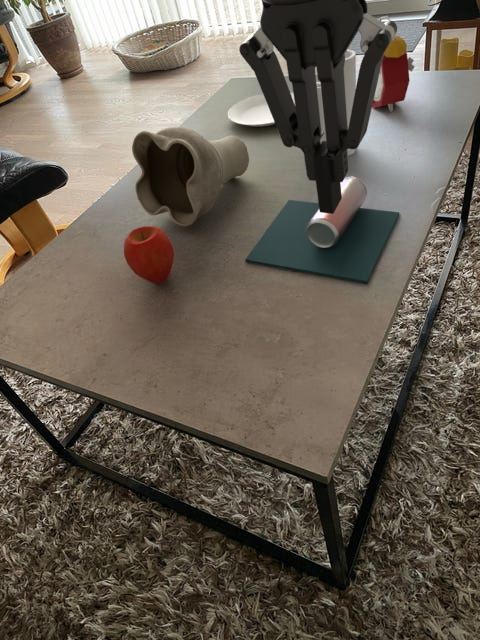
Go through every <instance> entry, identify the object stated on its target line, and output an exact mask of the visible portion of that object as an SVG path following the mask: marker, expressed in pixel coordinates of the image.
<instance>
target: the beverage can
mask: <svg viewBox="0 0 480 640" xmlns="http://www.w3.org/2000/svg"><path fill="white" fill-rule="evenodd" d="M341 195H342V199H341V201H340V203H339V204H338V206H337V208H336V210H335V212H334V214H329V213H320V211H319V209H318V211H317V212H316V214H315V215H314V216H313V218H312V219H311V220H310V222H309V223H308V225H307V235H308V238H309V239H310V241H311V242H312V243H313V244H314V245H316V246H318V247H321V248H329V247H332V246H334V245H336V244H337V242H338V241H339V239H340V238H341V236H342V235H343V233H344V232H345V230H346V229H347V227H348V226H349V224H350V222H351V221H352V219H353V218H354V216H355V215H356V213H357V212H358V210H359V209H360V208H362V206H363V204H365V201H366V198H367V195H368V188H367V186H366V184H365V183H364V181H362V180H361V179H360V178H358V177H356V176H346V177H345V178H344V180H343V182H341Z"/></svg>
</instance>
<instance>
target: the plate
mask: <svg viewBox="0 0 480 640" xmlns="http://www.w3.org/2000/svg"><path fill="white" fill-rule="evenodd" d="M290 93H291V96H292V99H293V101H294V94H293V92H291V91H290ZM294 103H295V101H294ZM227 117H228V119H229V120H230V122H233V123H235V124H238V125H242V126H243V125H244V126H249V127H256V128H257V127H259V128H261V127H268V126H273V125H276V124H275V122H274V119H273V117H272V114H271V112H270V110H269V107H268V105H267V102H266V100H265V97H264V95H263V93H259V94H255V95H252V96H249V97H246V98H244V99H241V100H240V101H238V102H236V103H234V104H233V105H232V106H231V107H230V108H229V110H228V111H227Z"/></svg>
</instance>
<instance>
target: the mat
mask: <svg viewBox="0 0 480 640" xmlns="http://www.w3.org/2000/svg"><path fill="white" fill-rule="evenodd" d="M318 209H319V203H318V202H312V201H303V200H294V199H288V200H287V201H286V203H285V204H284V205H283V207H282V208H281V210H280V211H279V213H278V214H277V215H276V216H275V218H274V219H273V221H272V222H271V224H270V225H268V227H267V228H266V230H265V232H264V233H263V235H262V236H261V237H260V239H259V240H258V241H257V242H256V244H255V245H254V247H253V248H252V250H251V251H250V252H249V254H248V255H247V256H246V258H245V259H244V261H245V263H249V264H254V265H260V266H266V267H270V268H271V267H272V268H277V269H283V270H287V271H293V272H299V273H305V274H311V275H315V276H321V277H326V278H333V279H336V280H337V279H338V280H344V281H348V282H355V283H360V284H365V285H366V284H367V285H368V283H369V281H370V279H371V277H372V274H373V272H374V270H375V268H376V266H377V264H378V261H379V260H380V257H381V255H382V253H383V251H384V249H385V247H386V245H387V242H388V240H389V238H390V236H391V235H392V234H391V233H392V232H393V230H394V227H395V225H396V223H397V221H398V219H399V217H400V211H391V210H383V209H373V208H366V207H360V209H359V210H358V212H357V213H356V215H355V216H354V218H353V219H352V221H351V222H350V224H349V226H348V227H347V229H346V230H345V232H344V233H343V235H342V236H341V238H340V239H339V241H338V242H337V244H336V245H334V246H332V247H329V248H321V247H318V246H316V245H314V244H313V243H312V242H311V241H310V239H309V238H308V235H307V225H308V223H309V222H310V220H311V219H312V218H313V216H314V215H315V214H316V212H317V211H318Z"/></svg>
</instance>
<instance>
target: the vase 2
mask: <svg viewBox="0 0 480 640" xmlns="http://www.w3.org/2000/svg"><path fill="white" fill-rule="evenodd" d="M356 55H357V53H356V51H355V50H352V49H347V51H346V52H345V64H344V82H345V97H346V112H347V127H348V128H349V122H350V117H351V112H352V106H353V101H354V96H355V90H356V85H357V64H356V63H357V62H356V60H357V59H356V58H357V56H356ZM316 84H317V94H318V104H319V114H320V124H321V131H322V132H323V131H324V134H323V136H322V138H321V139H320V144H321V142H322V141H326V132H325V122H324V112H323V102H322V92H321V83H320V81H316ZM322 132H321V133H322ZM356 151H357V148H356V149H347V155H348V157H349V156H352V155H353V154H354V153H356Z"/></svg>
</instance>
